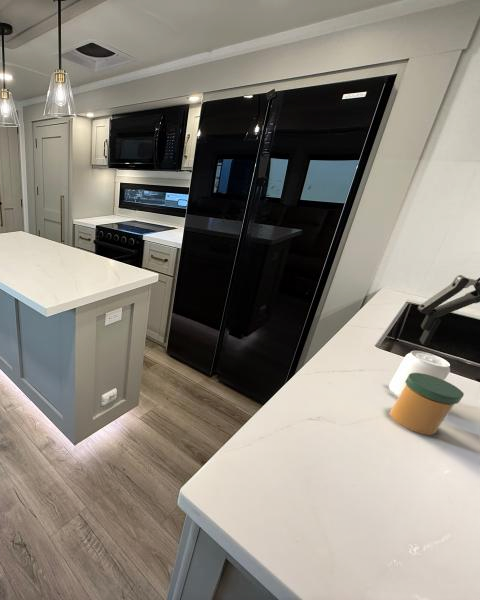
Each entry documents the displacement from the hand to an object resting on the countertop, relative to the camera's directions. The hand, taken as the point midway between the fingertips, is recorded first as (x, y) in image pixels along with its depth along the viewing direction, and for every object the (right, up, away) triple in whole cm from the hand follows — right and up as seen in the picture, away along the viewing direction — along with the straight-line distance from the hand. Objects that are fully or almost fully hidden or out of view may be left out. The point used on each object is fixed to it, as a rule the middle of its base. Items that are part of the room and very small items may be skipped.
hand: (465, 352), depth 69 cm
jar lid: (-5, -8, +2) cm, 10 cm away
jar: (-5, -18, +6) cm, 20 cm away
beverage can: (+3, -14, +15) cm, 21 cm away
